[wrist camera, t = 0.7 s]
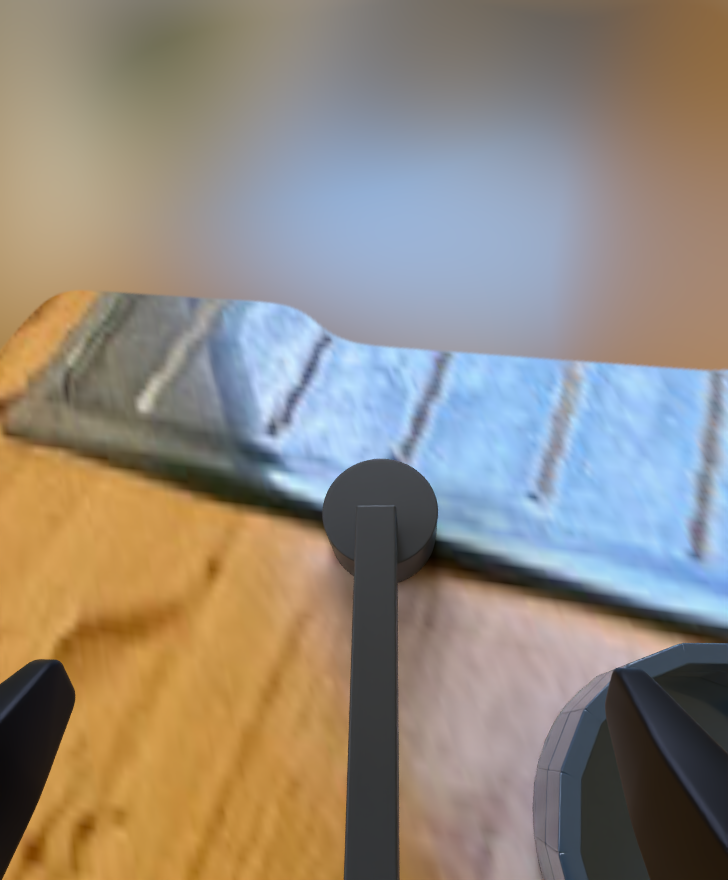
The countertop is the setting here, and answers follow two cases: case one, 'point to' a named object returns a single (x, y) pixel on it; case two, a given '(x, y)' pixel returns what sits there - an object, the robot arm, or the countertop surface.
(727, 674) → the bowl
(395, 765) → the dark grey handle
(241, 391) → the countertop surface
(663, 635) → the countertop surface
